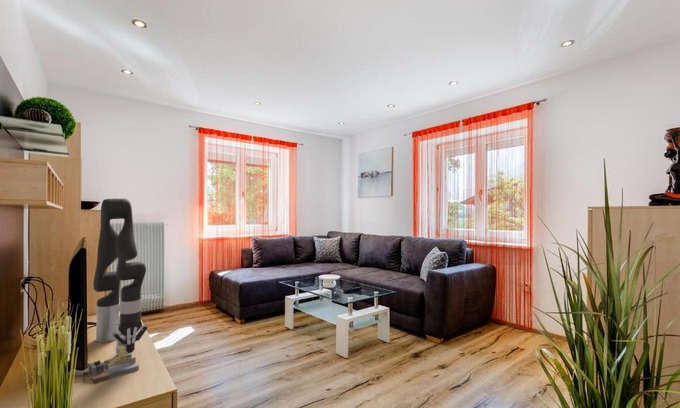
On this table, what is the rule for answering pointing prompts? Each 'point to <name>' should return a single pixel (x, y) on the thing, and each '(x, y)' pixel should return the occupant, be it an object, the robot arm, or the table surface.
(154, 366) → the table surface
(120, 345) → the silver threaded hollow container
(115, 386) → the table surface
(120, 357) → the bolt
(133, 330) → the robot arm
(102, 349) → the table surface
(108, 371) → the lock board
